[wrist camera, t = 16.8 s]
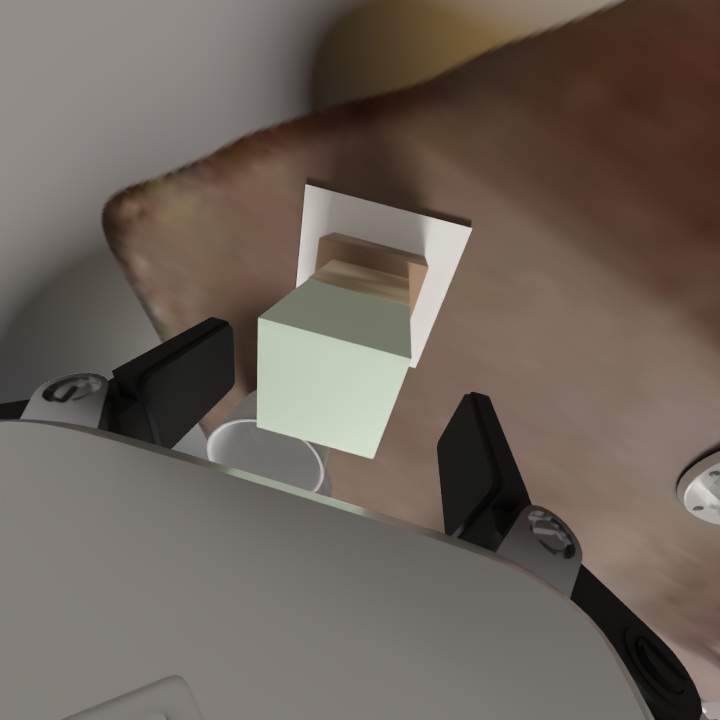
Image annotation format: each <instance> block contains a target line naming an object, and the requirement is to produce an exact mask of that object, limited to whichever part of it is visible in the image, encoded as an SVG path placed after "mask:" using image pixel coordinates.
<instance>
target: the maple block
mask: <svg viewBox="0 0 720 720" xmlns="http://www.w3.org/2000/svg"><path fill="white" fill-rule="evenodd" d="M308 279H310V280H314V281H317V282H321V283H325V284H329V285H332V286H336V287H340V288H344V289H347V290H351V291H355V292H359V293H362V294H366V295H370V296H374V297H377V298H381V299H385V300H389V301H392V302H396V303H400V304H404V305H407V306H410V290H409V279H408V278H404V277H400V276H396V275H393V274H389V273H385V272H381V271H377V270H373V269H369V268H366V267H362V266H358V265H354V264H350V263H346V262H342V261H339V260H335V259H332V260H331V261H330V262H328V263H327V264H326V265H324V266H323V267H322V268H320V269H319V270H318V271H316V272H315V273H314V274H312V275H311V276H310V277H308Z"/></svg>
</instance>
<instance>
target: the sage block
mask: <svg viewBox="0 0 720 720" xmlns="http://www.w3.org/2000/svg"><path fill="white" fill-rule="evenodd" d="M411 359H412V355H411V326H410V306H407V305H404V304H400V303H396V302H392V301H389V300H385V299H381V298H377V297H374V296H370V295H366V294H362V293H359V292H355V291H351V290H347V289H344V288H340V287H336V286H332V285H329V284H325V283H321V282H317V281H314V280H310V279H308V280H306V281H305V282H304V283H302V284H301V285H300V286H299V287H297V288H296V289H295V290H293V291H292V292H291V293H289V294H288V295H287V296H286V297H284V298H283V299H282V300H280V301H279V302H278V303H276V304H275V305H274V306H272V307H271V308H270V309H269V310H267V311H266V312H265V313H263V314H262V315H261V316H259V317H258V361H257V427H259V428H263V429H266V430H270V431H273V432H277V433H281V434H284V435H288V436H291V437H295V438H299V439H302V440H306V441H310V442H313V443H317V444H320V445H324V446H328V447H331V448H335V449H338V450H342V451H346V452H349V453H353V454H357V455H360V456H364V457H367V458H371V459H373V458H374V455H375V453H376V450H377V447H378V445H379V442H380V440H381V437H382V435H383V432H384V429H385V427H386V424H387V422H388V419H389V416H390V414H391V411H392V409H393V406H394V403H395V401H396V398H397V396H398V393H399V390H400V388H401V385H402V383H403V380H404V378H405V375H406V372H407V370H408V367H409V365H410V362H411Z"/></svg>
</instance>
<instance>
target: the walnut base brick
mask: <svg viewBox="0 0 720 720" xmlns="http://www.w3.org/2000/svg"><path fill="white" fill-rule="evenodd" d="M332 259H335V260H339V261H342V262H346V263H350V264H354V265H358V266H362V267H366V268H369V269H373V270H377V271H381V272H385V273H389V274H393V275H396V276H400V277H404V278H408V279H409V290H410V319H411V316H412V314H413V311H414V308H415V305H416V302H417V299H418V297H419V294H420V291H421V288H422V285H423V282H424V280H425V277H426V274H427V271H428V268H429V266H428V264H427V261H426V258H425V256H422V255H418V254H415V253H411V252H407V251H403V250H400V249H396V248H392V247H388V246H385V245H381V244H377V243H373V242H370V241H366V240H362V239H358V238H355V237H351V236H347V235H343V234H340V233H336V232H333V233H331V234H328V235H325V236H323V237H320V238H319V243H318V251H317V259H316V266H315V272H316V271H318V270H319V269H320V268H322V267H323V266H324V265H326V264H327V263H328V262H330V261H331V260H332Z"/></svg>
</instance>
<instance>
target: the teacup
mask: <svg viewBox="0 0 720 720" xmlns="http://www.w3.org/2000/svg"><path fill="white" fill-rule="evenodd" d="M329 451H330V447H328V446H324V445H320V444H317V443H313V442H310V441H306V440H302V439H299V438H295V437H291V436H288V435H284V434H281V433H277V432H273V431H270V430H266V429H263V428H259V427H257V390H255V391H253V392H252V393H250V394H249V395H247V396H246V397H245V398H244V399H243V400H242V401H241V402H240V403H239V404H238V405H237V406H236V407H235V408H234V409H233V411H232V412H231V413H230V414H229V415H228V416H227V418H226V419H225V420H224V421H223V422H222V424H220V425H219V426H217V427H216V428H215V429H214V430H213V431H212V433H211V435H210V436H209V439H208V442H207V454H208V458H209V461H212V462H215V463H218V464H222V465H225V466H228V467H232V468H235V469H238V470H242V471H245V472H248V473H251V474H255V475H258V476H261V477H265V478H268V479H271V480H274V481H278V482H281V483H284V484H287V485H291V486H294V487H297V488H300V489H304V490H307V491H310V492H313V493H314V492H315V491H317V490H318V489H319V494H320V495H323V496H326V497H330V498H331V491H332V490H331V481H330V477H329V474H328V471H327V469H326V467H325V466H326V463H327V459H328V455H329Z"/></svg>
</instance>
